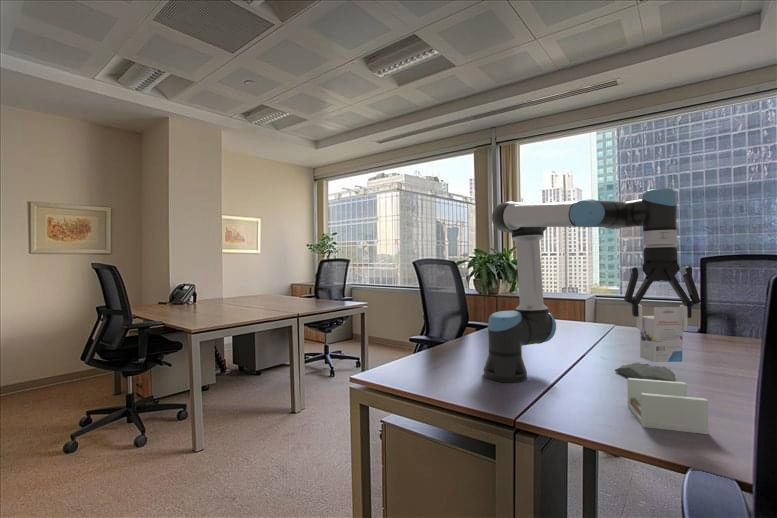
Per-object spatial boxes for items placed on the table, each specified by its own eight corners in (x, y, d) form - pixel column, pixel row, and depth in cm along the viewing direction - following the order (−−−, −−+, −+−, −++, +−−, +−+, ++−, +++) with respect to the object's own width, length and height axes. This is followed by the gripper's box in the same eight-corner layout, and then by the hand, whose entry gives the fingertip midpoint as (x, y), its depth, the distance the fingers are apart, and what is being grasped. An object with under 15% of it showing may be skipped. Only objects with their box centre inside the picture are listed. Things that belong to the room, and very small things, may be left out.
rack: (643, 427, 99) (643, 395, 99) (627, 404, 113) (627, 377, 113) (709, 434, 95) (709, 401, 94) (683, 410, 109) (683, 381, 109)
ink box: (667, 356, 107) (668, 304, 106) (682, 362, 102) (684, 306, 101) (639, 357, 106) (639, 304, 106) (653, 362, 101) (654, 306, 101)
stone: (609, 363, 146) (644, 357, 148) (611, 376, 145) (646, 370, 148) (648, 373, 128) (687, 366, 130) (651, 388, 127) (690, 380, 130)
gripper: (616, 247, 104) (618, 330, 104) (716, 245, 96) (718, 333, 97) (610, 248, 111) (611, 325, 111) (703, 245, 104) (704, 328, 104)
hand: (661, 329), depth 104 cm, fingers closed on ink box, 9 cm apart
